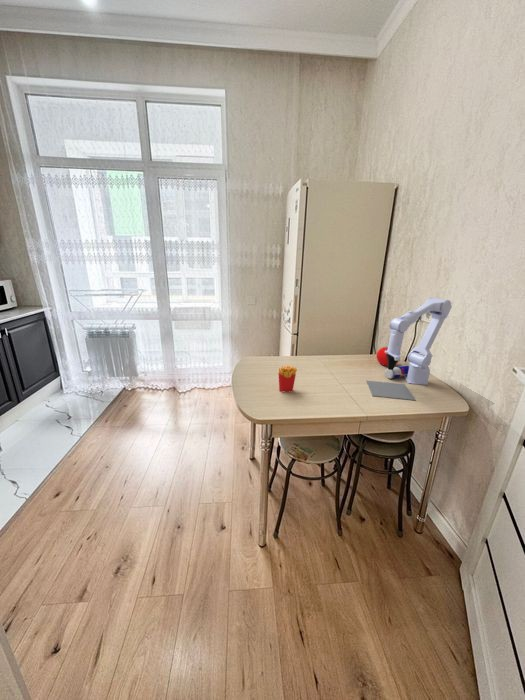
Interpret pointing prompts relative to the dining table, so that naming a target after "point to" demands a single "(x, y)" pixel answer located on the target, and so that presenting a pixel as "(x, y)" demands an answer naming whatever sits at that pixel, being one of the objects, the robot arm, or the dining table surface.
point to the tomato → (382, 356)
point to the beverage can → (397, 372)
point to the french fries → (287, 378)
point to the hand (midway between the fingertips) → (390, 369)
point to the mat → (390, 390)
